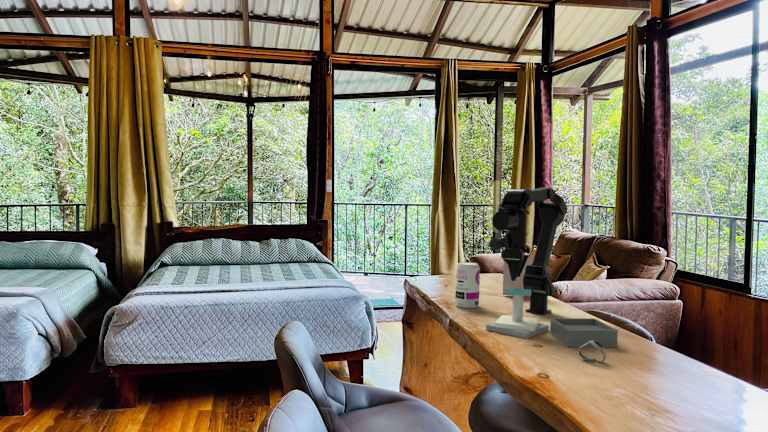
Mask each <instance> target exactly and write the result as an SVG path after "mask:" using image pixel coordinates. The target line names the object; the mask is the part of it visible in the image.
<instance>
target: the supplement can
mask: <svg viewBox="0 0 768 432" xmlns="http://www.w3.org/2000/svg"><path fill="white" fill-rule="evenodd" d="M480 273H481V267H480V265H479V264H478V262H466V261H462V262H458V263H457V265H456V267H455V301H454V303H455V305H456V307H458V308H463V309H474V308H478V306H479V305H480V282H481V281H480V280H481V279H480V277H481V274H480Z"/></svg>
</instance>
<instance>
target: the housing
mask: <svg viewBox="0 0 768 432" xmlns="http://www.w3.org/2000/svg"><path fill="white" fill-rule="evenodd" d="M549 325H550V328H549V329H550V331H549V334H550V335H551V336H552V337H554V338H555V339H556V340H558V341H559V342H560V343H562V344H563V345H564V344H565V345H564V346H566V347H568V348H579V347H580V346H582V345H584V344H586V343H587V342H589V341H597V342H598V343H600V344H601V345H602V346H603V347H604V348H618V336H619V335H618V332H619V331H618V330H617V329H616V328H615V327H612V326H611V325H608V324H606V323H605V322H602V321H601V320H599V319H597V318H592V317H591V318H584V317H583V318H579V317H578V318H570V317H569V318H564V317H563V318H562V317H560V318H559V317H558V318H555V317H554V318H550V324H549ZM583 348H594V347H593V345H591V344H588V345H586V346H584V347H583Z"/></svg>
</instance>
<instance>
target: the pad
mask: <svg viewBox="0 0 768 432" xmlns="http://www.w3.org/2000/svg"><path fill="white" fill-rule="evenodd" d="M495 322H496V321H494V322H490V323H487V324H485V330H486V331H489V332H494V333H500V334H502V335H503V334H504V335H508V336H513V337H517V338H521V339H530V338H533V337H535V336H537V335H539V334H543V333H544V332H547V331H549V325H550V324H544V323H540V322H539V324H538V326H537V328H536V329H535V331H526V330H517V329H508V328H499V327H495Z"/></svg>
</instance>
